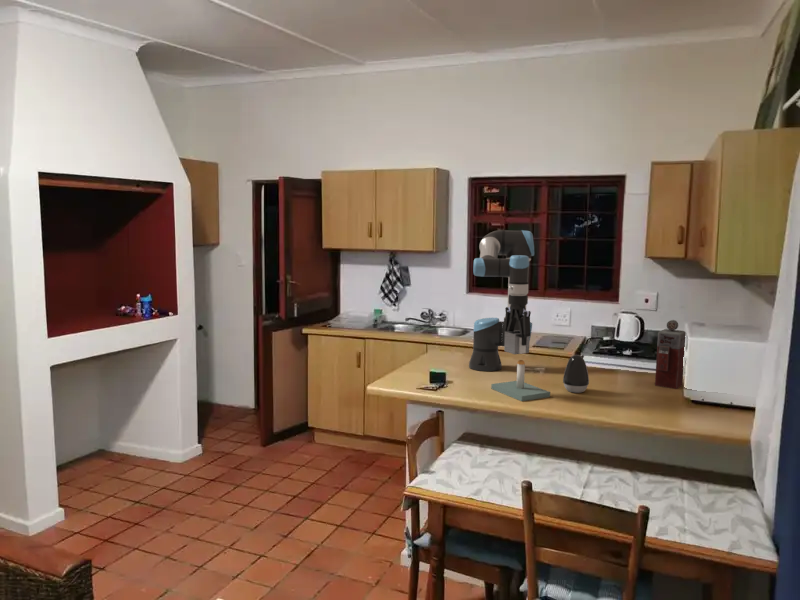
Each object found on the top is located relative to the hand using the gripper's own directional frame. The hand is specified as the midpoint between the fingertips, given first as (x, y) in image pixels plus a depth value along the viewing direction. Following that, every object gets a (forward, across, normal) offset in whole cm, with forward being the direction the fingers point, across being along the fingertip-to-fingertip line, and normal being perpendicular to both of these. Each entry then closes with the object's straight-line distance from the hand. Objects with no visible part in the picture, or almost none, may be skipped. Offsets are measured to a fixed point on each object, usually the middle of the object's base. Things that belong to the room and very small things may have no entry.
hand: (516, 351), depth 258 cm
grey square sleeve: (0, 0, 0) cm, 0 cm away
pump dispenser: (+17, +8, +24) cm, 31 cm away
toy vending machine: (+17, +17, +66) cm, 71 cm away
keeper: (+17, +1, +2) cm, 17 cm away
